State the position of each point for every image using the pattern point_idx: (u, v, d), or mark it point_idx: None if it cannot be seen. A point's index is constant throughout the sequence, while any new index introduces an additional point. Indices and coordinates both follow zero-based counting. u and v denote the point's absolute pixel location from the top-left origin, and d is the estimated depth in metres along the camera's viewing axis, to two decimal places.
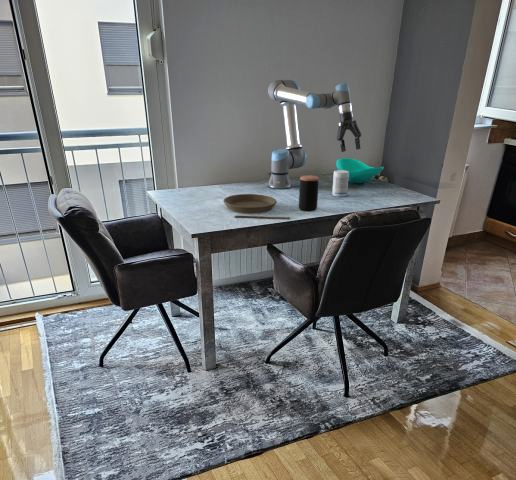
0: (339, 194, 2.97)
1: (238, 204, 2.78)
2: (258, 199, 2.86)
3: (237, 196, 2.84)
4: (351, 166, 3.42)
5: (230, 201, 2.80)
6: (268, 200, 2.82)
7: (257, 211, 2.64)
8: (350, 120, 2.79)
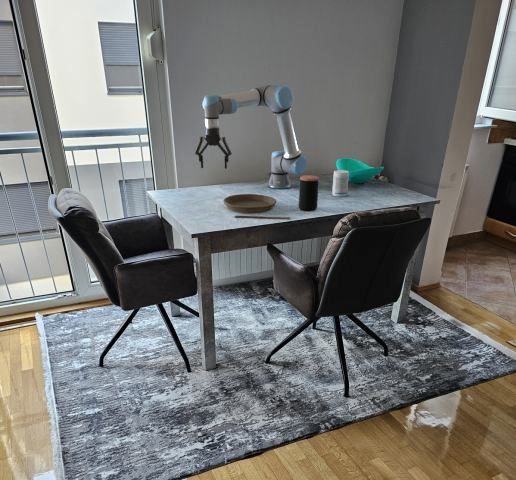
0: (339, 194, 2.97)
1: (238, 204, 2.78)
2: (258, 199, 2.86)
3: (237, 196, 2.84)
4: (351, 166, 3.42)
5: (230, 201, 2.80)
6: (268, 200, 2.82)
7: (257, 211, 2.64)
8: (215, 136, 2.57)
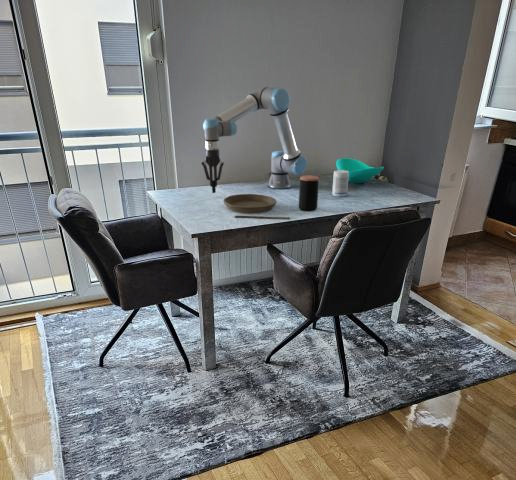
0: (339, 194, 2.97)
1: (238, 204, 2.78)
2: (258, 199, 2.86)
3: (237, 196, 2.84)
4: (351, 166, 3.42)
5: (230, 201, 2.80)
6: (268, 200, 2.82)
7: (257, 211, 2.64)
8: (215, 158, 2.63)
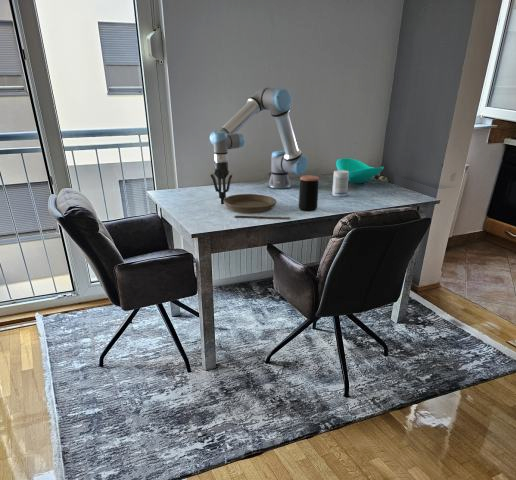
0: (339, 194, 2.97)
1: (238, 204, 2.78)
2: (258, 199, 2.86)
3: (237, 196, 2.84)
4: (351, 166, 3.42)
5: (230, 201, 2.80)
6: (268, 200, 2.82)
7: (257, 211, 2.64)
8: (224, 170, 2.66)
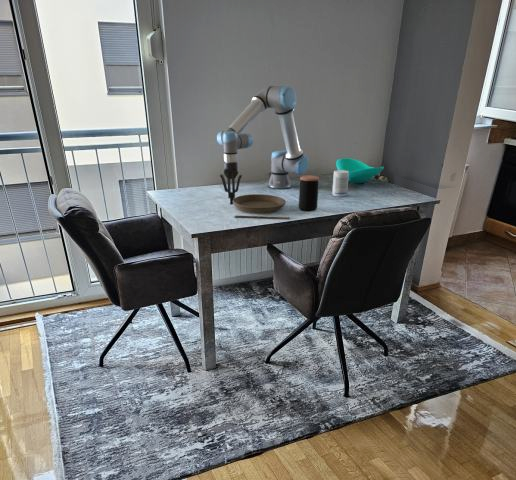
0: (339, 194, 2.97)
1: (247, 204, 2.77)
2: (267, 199, 2.85)
3: (246, 196, 2.84)
4: (351, 166, 3.42)
5: (239, 201, 2.80)
6: (277, 201, 2.81)
7: (266, 211, 2.64)
8: (234, 170, 2.65)
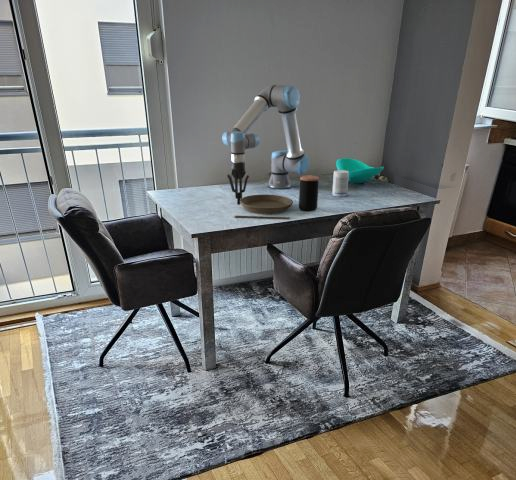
0: (339, 194, 2.97)
1: (254, 204, 2.77)
2: (274, 199, 2.85)
3: (253, 196, 2.83)
4: (351, 166, 3.42)
5: (246, 201, 2.79)
6: (284, 201, 2.81)
7: (274, 212, 2.63)
8: (241, 171, 2.65)
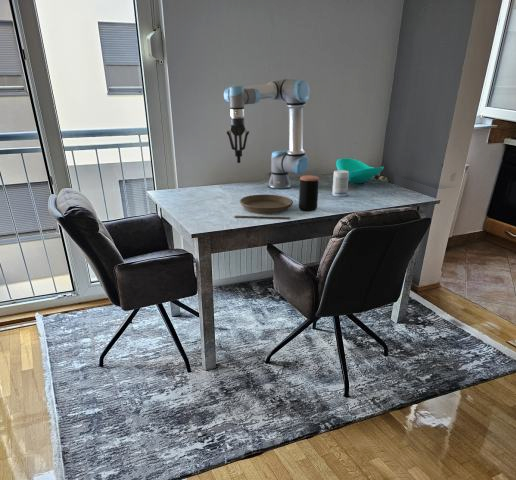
0: (339, 194, 2.97)
1: (254, 204, 2.77)
2: (274, 200, 2.85)
3: (253, 196, 2.83)
4: (351, 166, 3.42)
5: (246, 201, 2.79)
6: (284, 201, 2.81)
7: (274, 212, 2.63)
8: (241, 127, 2.59)
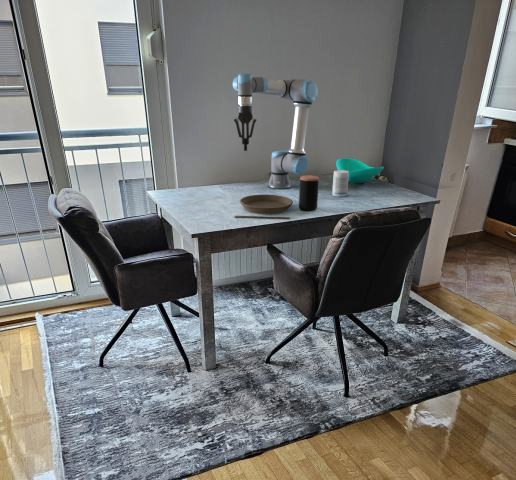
0: (339, 194, 2.97)
1: (254, 204, 2.77)
2: (274, 200, 2.85)
3: (253, 196, 2.83)
4: (351, 166, 3.42)
5: (246, 201, 2.79)
6: (284, 201, 2.81)
7: (274, 212, 2.63)
8: (248, 114, 2.62)
